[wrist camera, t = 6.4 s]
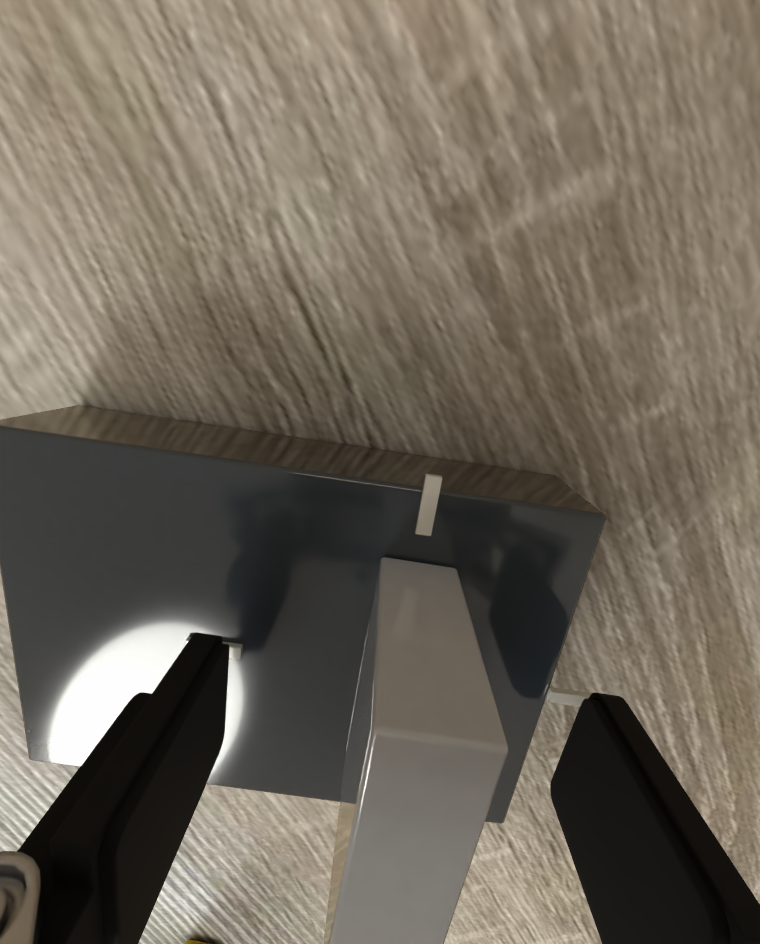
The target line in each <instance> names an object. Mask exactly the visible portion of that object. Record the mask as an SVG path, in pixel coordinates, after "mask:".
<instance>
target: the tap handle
mask: <svg viewBox="0 0 760 944" xmlns="http://www.w3.org/2000/svg"><path fill="white" fill-rule="evenodd" d="M507 755H508V745H507V742H506V738H505V735H504V731H503V728H502V725H501V721H500V718H499V714H498V711H497V707H496V704H495V700H494V697H493V693H492V690H491V686H490V683H489V680H488V676H487V673H486V669H485V666H484V662H483V659H482V655H481V652H480V648H479V645H478V641H477V638H476V635H475V631H474V628H473V624H472V621H471V617H470V614H469V610H468V607H467V603H466V600H465V596H464V593H463V589H462V586H461V583H460V579H459V576H458V572H457V570H456V569H455V568H451V567H445V566H439V565H432V564H426V563H419V562H413V561H407V560H400V559H394V558H388V557H383V558H382V559H381V560H380V565H379V571H378V577H377V582H376V588H375V593H374V599H373V605H372V610H371V616H370V621H369V627H368V633H367V638H366V644H365V649H364V655H363V661H362V666H361V672H360V677H359V683H358V689H357V694H356V700H355V705H354V711H353V717H352V722H351V728H350V733H349V739H348V745H347V750H346V756H345V761H344V770H343V779H342V787H341V796H340V804H339V813H338V822H337V830H336V839H335V847H334V856H333V865H332V873H331V882H330V890H329V899H328V908H327V916H326V925H325V934H324V942H323V944H444V941H445V938H446V935H447V932H448V929H449V926H450V923H451V920H452V917H453V914H454V911H455V908H456V905H457V903H458V900H459V897H460V894H461V891H462V888H463V885H464V882H465V879H466V876H467V873H468V870H469V867H470V864H471V861H472V858H473V855H474V852H475V849H476V846H477V843H478V840H479V837H480V834H481V831H482V829H483V826H484V823H485V820H486V817H487V814H488V811H489V808H490V805H491V802H492V799H493V796H494V793H495V790H496V787H497V784H498V781H499V778H500V775H501V772H502V769H503V766H504V763H505V760H506V757H507Z"/></svg>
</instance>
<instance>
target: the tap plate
mask: <svg viewBox="0 0 760 944" xmlns="http://www.w3.org/2000/svg"><path fill="white" fill-rule="evenodd" d="M605 520H606V515H605V514H604V513H602V512H601V511H600V510H599V509H597V508H596V507H595V506H594V505H592V504H591V503H590V502H588V501H587V500H586V499H585V498H583V497H582V496H581V495H580V494H578V493H577V492H576V491H575V490H573V489H572V488H571V487H569V486H568V485H567V484H566V483H564V482H563V481H562V480H561V479H559V478H558V477H557V476H555V475H549V474H542V473H536V472H529V471H522V470H515V469H508V468H502V467H495V466H488V465H481V464H474V463H468V462H461V461H454V460H447V459H440V458H434V457H427V456H420V455H413V454H407V453H400V452H393V451H386V450H379V449H373V448H366V447H359V446H352V445H345V444H339V443H332V442H325V441H318V440H311V439H305V438H298V437H291V436H284V435H278V434H271V433H264V432H257V431H250V430H244V429H237V428H230V427H223V426H216V425H210V424H203V423H196V422H189V421H183V420H176V419H169V418H162V417H155V416H149V415H142V414H135V413H128V412H121V411H115V410H108V409H101V408H94V407H87V406H81V405H78V406H72V407H67V408H61V409H56V410H50V411H45V412H40V413H34V414H29V415H23V416H18V417H12V418H7V419H2V420H0V570H1V576H2V583H3V590H4V596H5V603H6V609H7V616H8V622H9V629H10V635H11V642H12V649H13V655H14V662H15V668H16V675H17V681H18V688H19V694H20V701H21V707H22V714H23V721H24V727H25V734H26V740H27V747H28V753H29V759H31V760H34V761H41V762H48V763H56V764H63V765H71V766H78V767H81V765H82V764H83V763H84V761H85V760H86V759H87V757H88V756H89V755H90V753H91V752H92V751H93V749H94V748H95V746H96V745H97V744H98V742H99V741H100V740H101V738H102V737H103V736H104V734H105V733H106V732H107V730H108V729H109V728H110V726H111V725H112V724H113V722H114V721H115V720H116V718H117V717H118V716H119V714H120V713H121V712H122V710H123V709H124V708H125V706H126V705H127V704H128V702H129V701H130V700H131V699H132V698H133V697H134V696H135V695H136V694H138V693H141V692H144V693H151V694H152V693H153V691H154V690H155V689H156V687H157V686H158V684H159V683H160V681H161V680H162V678H163V677H164V676H165V674H166V673H167V671H168V670H169V668H170V667H171V665H172V664H173V663H174V661H175V660H176V658H177V657H178V655H179V654H180V653H181V651H182V650H183V648H184V647H185V645H186V644H187V642H188V641H189V640H190V638H191V637H192V636H193V634H194V633H196V632H198V633H204V634H211V635H218V636H222V639H223V644H229V648H230V650H229V667H228V685H227V702H226V720H225V735H224V740H223V744H222V747H221V750H220V753H219V755H218V757H217V760H216V762H215V764H214V767H213V769H212V772H211V774H210V776H209V779H208V781H207V783H206V784H211V785H219V786H226V787H233V788H241V789H248V790H256V791H263V792H270V793H278V794H285V795H293V796H300V797H308V798H315V799H322V800H330V801H337V802H340V796H341V787H342V779H343V770H344V761H345V756H346V750H347V745H348V739H349V733H350V728H351V722H352V717H353V711H354V705H355V700H356V694H357V689H358V683H359V677H360V672H361V666H362V661H363V655H364V649H365V644H366V638H367V633H368V627H369V621H370V616H371V610H372V605H373V599H374V593H375V588H376V582H377V577H378V571H379V565H380V560H381V559H382V558H383V557H388V558H394V559H400V560H407V561H413V562H419V563H426V564H432V565H439V566H445V567H451V568H455V569H456V570H457V572H458V576H459V579H460V583H461V586H462V589H463V593H464V596H465V600H466V603H467V607H468V610H469V614H470V617H471V621H472V624H473V628H474V631H475V635H476V638H477V641H478V645H479V648H480V652H481V655H482V659H483V662H484V666H485V669H486V673H487V676H488V680H489V683H490V686H491V690H492V693H493V697H494V700H495V704H496V707H497V711H498V714H499V718H500V721H501V725H502V728H503V731H504V735H505V738H506V742H507V745H508V755H507V757H506V760H505V763H504V766H503V769H502V772H501V775H500V778H499V781H498V784H497V787H496V790H495V793H494V796H493V799H492V802H491V805H490V808H489V811H488V814H487V817H486V820H485V822H493V823H500V824H501V823H503V822H504V820H505V817H506V814H507V811H508V808H509V805H510V802H511V799H512V796H513V793H514V790H515V787H516V784H517V781H518V778H519V775H520V772H521V769H522V766H523V763H524V760H525V757H526V755H527V752H528V749H529V746H530V743H531V740H532V737H533V734H534V731H535V728H536V725H537V722H538V719H539V716H540V713H541V710H542V707H543V704H544V701H545V698H546V699H547V702H548V703H555V704H562V705H570V706H577V707H580V706H581V704H582V702H583V700H584V699H588V698H589V697H590V695H591V694H592V693H588V692H581V691H574V690H567V689H560V688H552V687H549V686H550V683H551V680H552V677H553V674H554V671H555V668H556V665H557V662H558V659H559V657H560V654H561V651H562V648H563V645H564V642H565V639H566V636H567V633H568V630H569V627H570V624H571V621H572V618H573V615H574V612H575V609H576V606H577V603H578V600H579V597H580V594H581V591H582V588H583V585H584V582H585V579H586V576H587V573H588V570H589V567H590V564H591V562H592V559H593V556H594V553H595V550H596V547H597V544H598V541H599V538H600V535H601V532H602V529H603V526H604V523H605ZM548 689H549V690H548ZM547 692H548V693H547ZM546 695H547V696H546Z"/></svg>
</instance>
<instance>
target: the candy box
mask: <svg viewBox="0 0 760 944" xmlns="http://www.w3.org/2000/svg"><path fill="white" fill-rule="evenodd" d="M185 944H210V943H204V942H199V941H194V940H187V941H186V942H185Z"/></svg>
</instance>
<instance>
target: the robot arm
mask: <svg viewBox="0 0 760 944" xmlns="http://www.w3.org/2000/svg"><path fill="white" fill-rule="evenodd" d="M229 650H230V648H229V644H223V639H222V636H218V635H211V634H204V633H198V632H196V633H194V634H193V636H192V637H191V638H190V640H189V641H188V642H187V644H186V645H185V647H184V648H183V650H182V651H181V653H180V654H179V655H178V657H177V658H176V660H175V661H174V663H173V664H172V665H171V667H170V668H169V670H168V671H167V673H166V674H165V676H164V677H163V678H162V680H161V681H160V683H159V684H158V686H157V687H156V689H155V690H154V691H153V693H152V694H151V693H144V692H141V693H138V694H136V695H135V696H134V697H133V698H132V699H131V700H130V701H129V702H128V704H127V705H126V706H125V708H124V709H123V710H122V712H121V713H120V714H119V716H118V717H117V718H116V720H115V721H114V722H113V724H112V725H111V726H110V728H109V729H108V730H107V732H106V733H105V734H104V736H103V737H102V738H101V740H100V741H99V742H98V744H97V745H96V746H95V748H94V749H93V751H92V752H91V753H90V755H89V756H88V757H87V759H86V760H85V761H84V763H83V764H82V765H81V767H80V768H79V769H78V771H77V772H76V773H75V775H74V776H73V777H72V779H71V780H70V781H69V783H68V784H67V785H66V787H65V788H64V789H63V791H62V792H61V793H60V795H59V796H58V798H57V799H56V800H55V802H54V803H53V804H52V806H51V807H50V808H49V810H48V811H47V812H46V814H45V815H44V816H43V818H42V819H41V820H40V822H39V823H38V824H37V826H36V827H35V828H34V830H33V831H32V832H31V834H30V835H29V836H28V838H27V839H26V841H25V842H24V843H23V845H22V846H21V847H20V849H19V850H18V851H17V852H15V851H3V852H0V944H138V942H139V940H140V938H141V935H142V933H143V931H144V928H145V926H146V924H147V921H148V919H149V917H150V914H151V912H152V910H153V907H154V905H155V903H156V900H157V898H158V896H159V893H160V891H161V889H162V886H163V884H164V882H165V879H166V877H167V875H168V872H169V870H170V867H171V865H172V863H173V860H174V858H175V856H176V853H177V851H178V849H179V846H180V844H181V842H182V839H183V837H184V835H185V832H186V830H187V828H188V825H189V823H190V821H191V818H192V816H193V814H194V811H195V809H196V807H197V804H198V802H199V800H200V797H201V795H202V793H203V790H204V788H205V786H206V783H207V781H208V779H209V776H210V774H211V772H212V769H213V767H214V764H215V762H216V760H217V757H218V755H219V753H220V750H221V747H222V744H223V740H224V735H225V720H226V702H227V685H228V667H229ZM550 789H551V798H552V802H553V805H554V807H555V810H556V813H557V816H558V819H559V822H560V825H561V827H562V830H563V833H564V836H565V839H566V842H567V844H568V847H569V850H570V853H571V856H572V859H573V861H574V864H575V867H576V870H577V873H578V876H579V879H580V881H581V884H582V887H583V890H584V893H585V896H586V898H587V901H588V904H589V907H590V910H591V913H592V915H593V918H594V921H595V924H596V927H597V930H598V933H599V935H600V938H601V941H602V944H760V904H759V903H758V901H757V900H756V898H755V897H754V895H753V894H752V892H751V891H750V889H749V888H748V886H747V885H746V883H745V882H744V880H743V878H742V877H741V875H740V874H739V872H738V871H737V869H736V868H735V866H734V865H733V863H732V862H731V860H730V859H729V857H728V856H727V854H726V853H725V851H724V850H723V848H722V847H721V845H720V844H719V842H718V841H717V839H716V838H715V836H714V834H713V833H712V831H711V830H710V828H709V827H708V825H707V824H706V822H705V821H704V819H703V818H702V816H701V815H700V813H699V812H698V810H697V809H696V807H695V806H694V804H693V803H692V801H691V800H690V798H689V797H688V795H687V793H686V792H685V790H684V789H683V787H682V786H681V784H680V783H679V781H678V780H677V778H676V777H675V775H674V774H673V772H672V771H671V769H670V768H669V766H668V765H667V763H666V762H665V760H664V759H663V757H662V756H661V754H660V753H659V751H658V749H657V748H656V746H655V745H654V743H653V742H652V740H651V739H650V737H649V736H648V734H647V733H646V731H645V730H644V728H643V727H642V725H641V724H640V722H639V721H638V719H637V718H636V716H635V715H634V713H633V712H632V710H631V708H630V707H629V705H628V704H627V703H626V701H625V700H624V699H623V698H621V697H620V696H614V695H607V694H600V693H592V694H591V695H590V697H589V698H588V699H584V700H583V702H582V704H581V706H580V709H579V711H578V714H577V716H576V719H575V722H574V724H573V727H572V729H571V732H570V734H569V737H568V739H567V742H566V745H565V747H564V750H563V752H562V755H561V757H560V760H559V763H558V765H557V768H556V770H555V773H554V775H553V778H552V781H551V787H550Z"/></svg>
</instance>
